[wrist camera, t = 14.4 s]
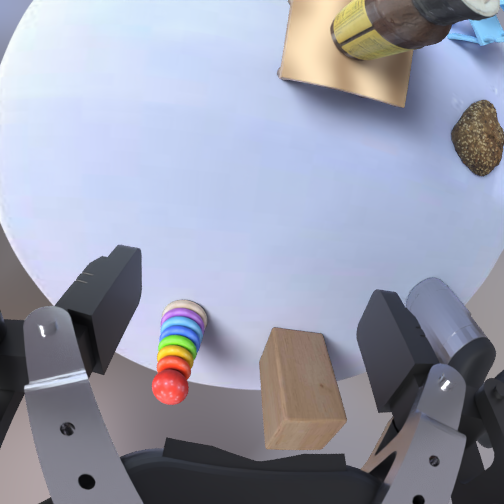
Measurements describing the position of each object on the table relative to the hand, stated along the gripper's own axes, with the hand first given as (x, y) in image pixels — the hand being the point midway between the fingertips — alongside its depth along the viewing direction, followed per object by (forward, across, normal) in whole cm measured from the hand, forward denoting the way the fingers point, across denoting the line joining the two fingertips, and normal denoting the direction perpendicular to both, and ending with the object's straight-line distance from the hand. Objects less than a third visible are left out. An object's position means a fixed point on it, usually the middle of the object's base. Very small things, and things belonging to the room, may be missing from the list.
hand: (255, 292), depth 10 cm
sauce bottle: (+25, -7, -16) cm, 30 cm away
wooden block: (+35, -13, +36) cm, 52 cm away
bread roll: (+37, -36, -11) cm, 53 cm away
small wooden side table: (+34, -6, -16) cm, 38 cm away
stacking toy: (+34, +8, +31) cm, 46 cm away
